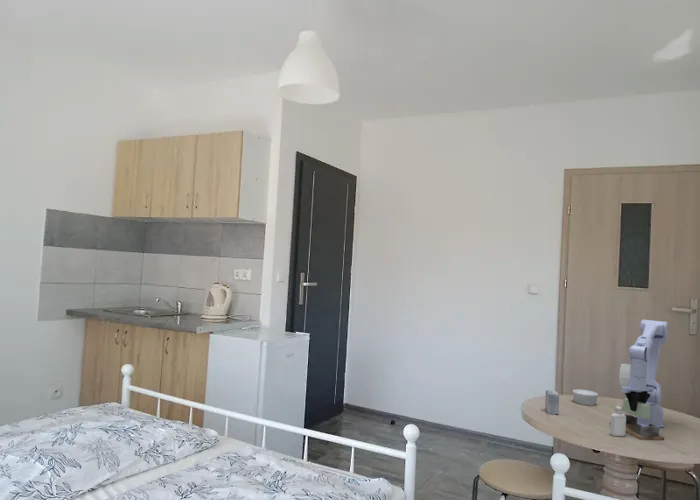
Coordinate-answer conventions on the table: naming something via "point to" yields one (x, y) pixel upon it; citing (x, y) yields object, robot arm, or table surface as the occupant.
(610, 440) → the table surface
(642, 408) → the rail plank
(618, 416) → the eye dropper bottle
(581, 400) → the ramekin
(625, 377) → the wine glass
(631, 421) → the slotted holder
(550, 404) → the medicine box
